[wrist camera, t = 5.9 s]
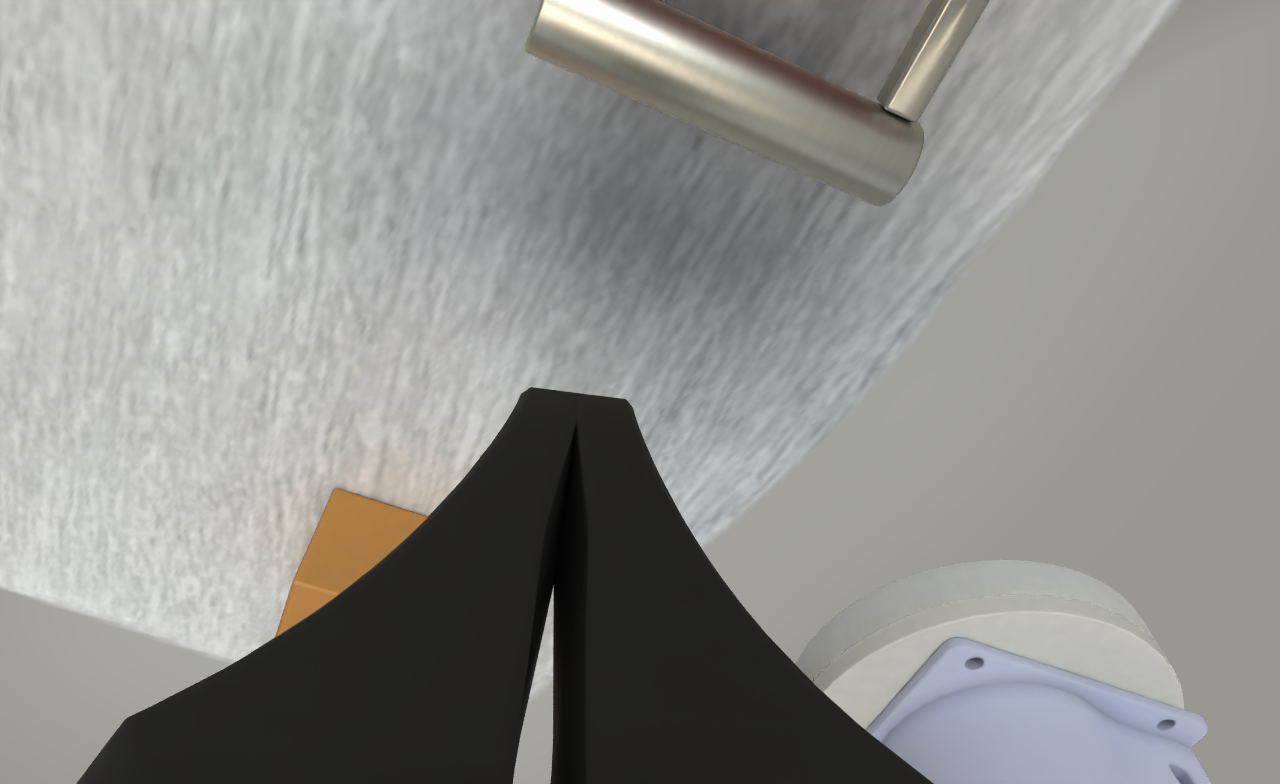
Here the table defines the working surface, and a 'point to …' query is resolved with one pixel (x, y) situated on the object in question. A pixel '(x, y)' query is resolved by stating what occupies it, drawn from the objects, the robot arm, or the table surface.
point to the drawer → (760, 86)
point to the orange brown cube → (344, 550)
